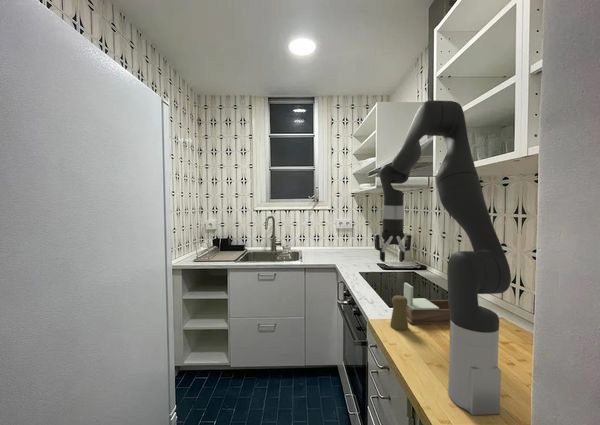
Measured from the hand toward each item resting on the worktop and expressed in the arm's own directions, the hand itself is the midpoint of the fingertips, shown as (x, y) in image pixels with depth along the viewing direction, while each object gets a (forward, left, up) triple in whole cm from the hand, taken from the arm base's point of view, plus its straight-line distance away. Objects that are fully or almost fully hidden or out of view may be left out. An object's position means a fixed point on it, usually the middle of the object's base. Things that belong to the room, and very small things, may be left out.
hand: (392, 261), depth 109 cm
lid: (0, -11, -17) cm, 20 cm away
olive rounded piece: (-8, 0, -22) cm, 23 cm away
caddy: (0, -17, -22) cm, 28 cm away
